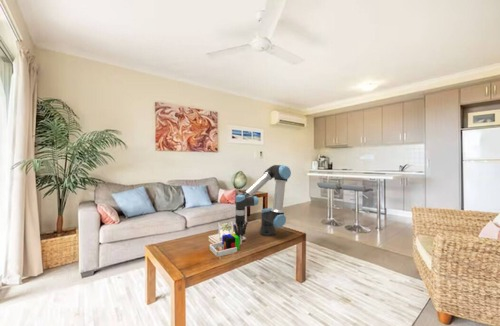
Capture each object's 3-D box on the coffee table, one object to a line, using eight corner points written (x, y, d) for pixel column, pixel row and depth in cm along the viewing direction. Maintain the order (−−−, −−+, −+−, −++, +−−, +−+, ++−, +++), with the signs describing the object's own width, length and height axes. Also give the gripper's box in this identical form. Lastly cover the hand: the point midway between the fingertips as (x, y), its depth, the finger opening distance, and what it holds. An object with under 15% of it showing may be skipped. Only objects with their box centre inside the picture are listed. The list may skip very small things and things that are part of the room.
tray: (227, 244, 177) (227, 240, 177) (236, 252, 164) (236, 247, 164) (209, 249, 169) (209, 244, 169) (217, 257, 155) (217, 252, 155)
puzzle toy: (222, 247, 171) (222, 235, 171) (233, 245, 176) (233, 233, 176) (227, 252, 162) (227, 239, 162) (239, 250, 167) (239, 237, 167)
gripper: (244, 212, 180) (244, 240, 181) (230, 214, 173) (230, 243, 174) (249, 214, 174) (249, 243, 174) (235, 216, 167) (235, 247, 168)
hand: (240, 243), depth 174 cm, fingers closed
